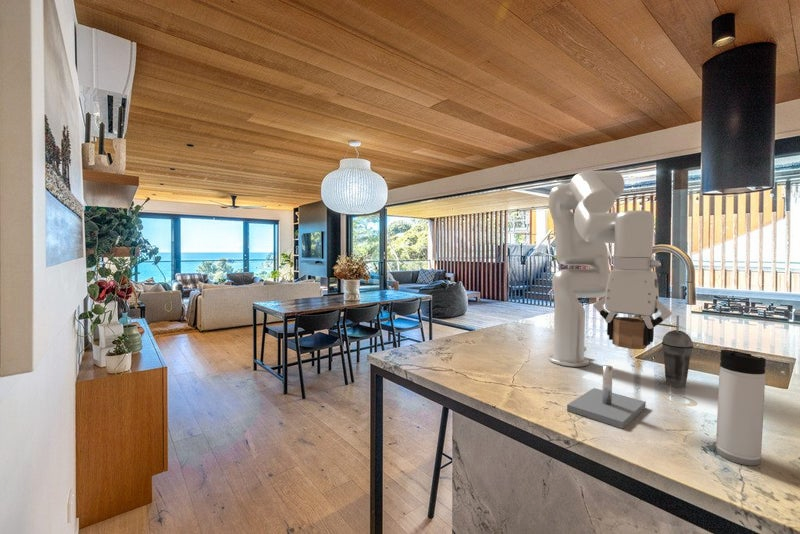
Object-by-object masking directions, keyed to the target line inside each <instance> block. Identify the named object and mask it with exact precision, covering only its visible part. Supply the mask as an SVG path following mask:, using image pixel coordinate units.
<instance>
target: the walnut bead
mask: <svg viewBox="0 0 800 534" xmlns="http://www.w3.org/2000/svg"><path fill="white" fill-rule="evenodd" d="M645 328H646V324H645V321H644V319H643V318H638V317H629V316H623V317H622V316H616V318H613V339H612V340H611V341H612V342H611V343H612V344H613V346H616V347H619V348H624V349H628V350H645V349H646V348H647V347H648V346H644V345H643V339H644V329H645Z"/></svg>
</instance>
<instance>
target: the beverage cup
mask: <svg viewBox="0 0 800 534" xmlns="http://www.w3.org/2000/svg"><path fill="white" fill-rule="evenodd" d="M679 322H680V316H679V315H676V325H675V327H676V329H675V330H674V329H673V330H669V331H668V332H666V333H665V334H664V336H663V338H662V341H661V345H662V347H661V348H662V350H663V361H664V362H663V363H664V377H665V378H664V379H665V384H666V383H667V384H668V385H667V384H666V385H667V386H669V385H671V386H670V387H673V386H675V387H674V388H678V387H679V388H681V389H682V388H683V387H684V388H686V385H687V382H688V381H687V380H688V375H689V367H690V361H691V355H692V353H693V348H694V345H693V340H692V338H691V336H690V335H689V334H688V333H686V332H685V331H682V330H679V329H680V327H679V325H680V323H679ZM684 388H683V389H684Z"/></svg>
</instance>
